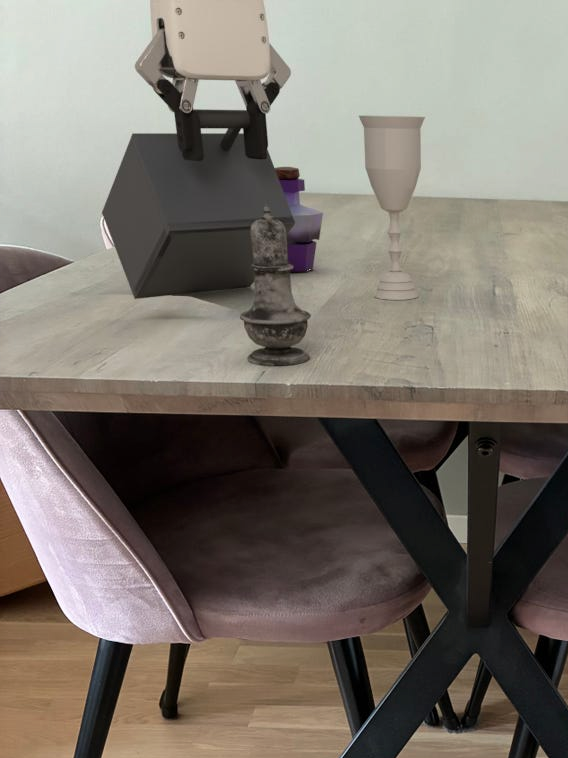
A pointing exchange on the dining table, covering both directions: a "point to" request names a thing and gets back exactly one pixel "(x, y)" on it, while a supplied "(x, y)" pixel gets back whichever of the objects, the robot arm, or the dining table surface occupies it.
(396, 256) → the chalice
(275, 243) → the salt shaker
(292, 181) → the potion bottle
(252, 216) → the dark grey rectangular box
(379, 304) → the dining table surface
